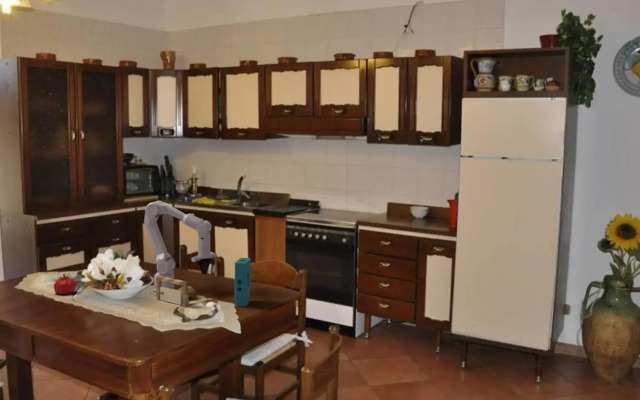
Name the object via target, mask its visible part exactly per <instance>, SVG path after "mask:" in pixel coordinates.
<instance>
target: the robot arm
mask: <svg viewBox="0 0 640 400" xmlns="http://www.w3.org/2000/svg"><path fill="white" fill-rule="evenodd" d="M166 214H167V215H169V216H172V217H174V218H177V220H180V221H182V222H183V224H184V225H185V226H187V227H189V228H191V229H193V230H195V231H196V232H197V255H195V256H193V257H191V262H192V263H195V262H196V263H197V264H198V267H199V268H200V269H199V270H200V272H201V275H204V276H205V275H207V273H208V270H209V267H210V264H211V263H212V258H213V259H214V258H217V253H216V252H211V230H212V223H211V222H210V221H209V220H207V219H206V220H204V219H203V218H200V217H197V216H196V215H195V214H194V213H187V214H186V213H184V212H182V211H181V210H179V209H177V208H175V207H173V206H172V205H170V204H168V203H167V202H164V201H162V200H156V201H153V202H150V203H147V205H146V207H145V208H144V218H143V224H144V225H145V228H146V231H147V234H148V236H149V239H150V242H151V244H152V247H153V249H154V252H155V254H156V258H155V263H156V270H157V272H156V273H155V274H154V276H153V278H154V279H153V282H154V283H153V288H154V289H152V291H154V292H156V276H163V277H168V278H172V279H175V271H174V269H175V268H176V260H174V258H173V257H172V255H171V254H170V253H169V252H168V250H167V247H166V245H165V242H164V239H163V236H162V234H161V231H160V228H159V226H158V223H157V221H158V219H159V217H160V216H161V215H166ZM162 287H166V288H170V289H175V290H178V289H179V288H177V289H176V288H175V284H173V283H169V282H165V281H162Z"/></svg>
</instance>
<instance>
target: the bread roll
mask: <svg viewBox="0 0 640 400" xmlns="http://www.w3.org/2000/svg"><path fill="white" fill-rule="evenodd" d="M177 289H178V290H179V291H183V286H182V285H181V287H179V288H177ZM197 298H198V293H197V290H196V289H195V288H194V287H193V286H191V285H188V302H190V301H195V300H196V299H197Z"/></svg>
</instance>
